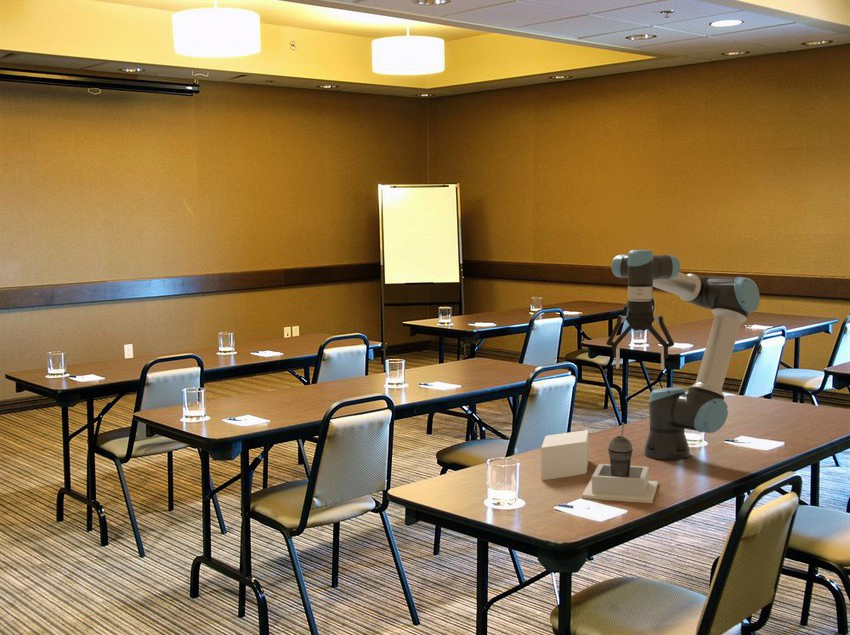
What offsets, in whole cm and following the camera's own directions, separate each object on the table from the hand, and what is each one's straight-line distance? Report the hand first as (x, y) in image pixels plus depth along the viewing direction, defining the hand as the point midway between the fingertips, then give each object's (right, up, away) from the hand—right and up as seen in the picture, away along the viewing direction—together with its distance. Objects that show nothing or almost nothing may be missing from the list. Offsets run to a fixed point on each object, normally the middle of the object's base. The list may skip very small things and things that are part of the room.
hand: (640, 368), depth 290 cm
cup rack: (-8, -36, -10) cm, 38 cm away
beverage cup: (-8, -35, -10) cm, 38 cm away
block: (-21, -34, +15) cm, 43 cm away
